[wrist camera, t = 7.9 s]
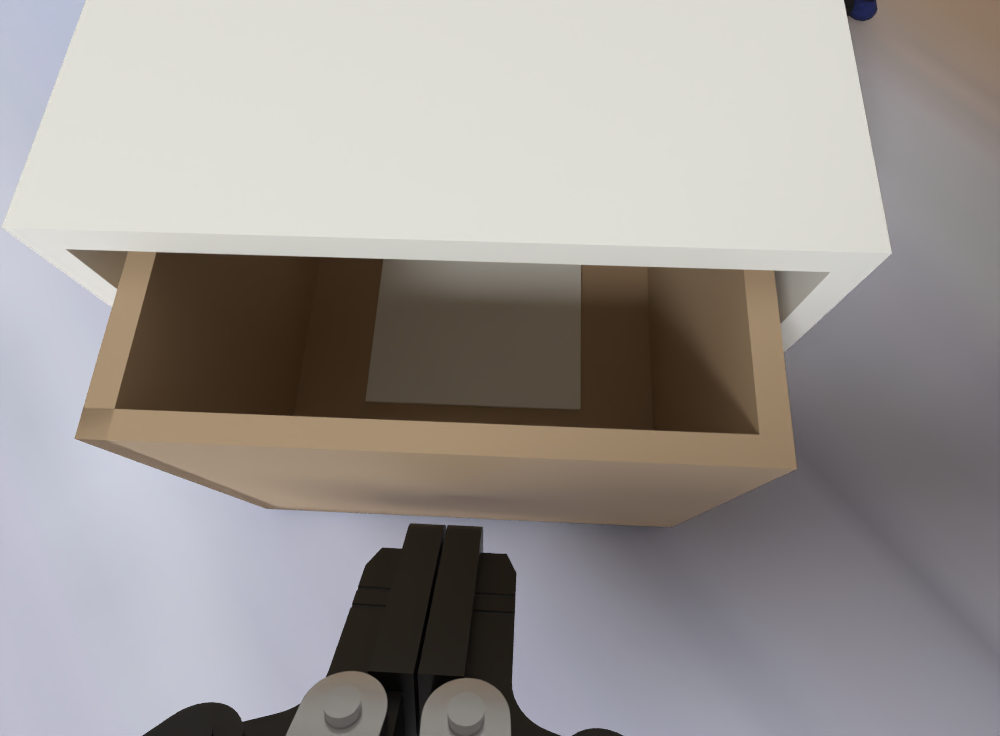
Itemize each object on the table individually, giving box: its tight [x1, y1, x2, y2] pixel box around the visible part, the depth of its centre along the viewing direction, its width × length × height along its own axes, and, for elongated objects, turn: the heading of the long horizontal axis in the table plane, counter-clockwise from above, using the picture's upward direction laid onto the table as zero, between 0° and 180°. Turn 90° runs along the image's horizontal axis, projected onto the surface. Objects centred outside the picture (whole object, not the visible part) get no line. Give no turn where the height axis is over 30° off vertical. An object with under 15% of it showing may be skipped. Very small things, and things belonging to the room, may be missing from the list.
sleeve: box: [2, 0, 892, 352], centre depth 16 cm, size 12×14×10 cm
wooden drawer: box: [75, 251, 797, 527], centre depth 17 cm, size 24×11×8 cm, turn 177°
